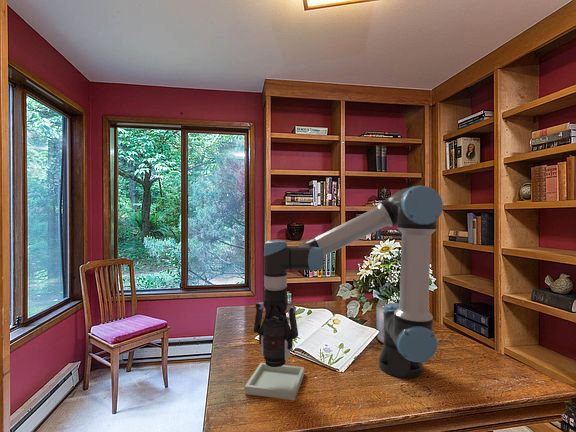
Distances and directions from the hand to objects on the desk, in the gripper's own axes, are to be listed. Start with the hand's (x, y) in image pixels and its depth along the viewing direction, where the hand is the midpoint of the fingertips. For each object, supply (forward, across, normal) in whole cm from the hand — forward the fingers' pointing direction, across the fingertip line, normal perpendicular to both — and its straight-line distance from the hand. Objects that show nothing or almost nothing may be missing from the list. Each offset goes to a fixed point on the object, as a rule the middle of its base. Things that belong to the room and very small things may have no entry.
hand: (275, 356), depth 108 cm
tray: (+9, 0, 0) cm, 9 cm away
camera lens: (+2, 0, 0) cm, 2 cm away
